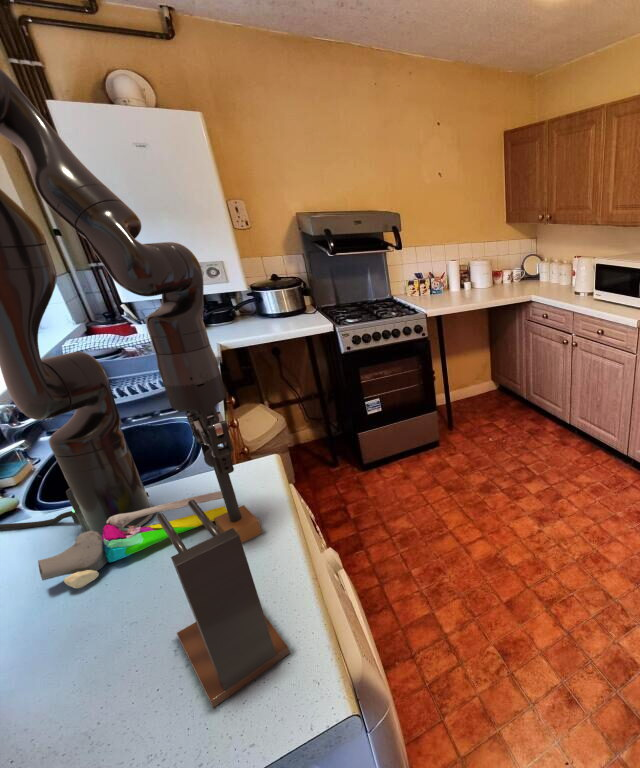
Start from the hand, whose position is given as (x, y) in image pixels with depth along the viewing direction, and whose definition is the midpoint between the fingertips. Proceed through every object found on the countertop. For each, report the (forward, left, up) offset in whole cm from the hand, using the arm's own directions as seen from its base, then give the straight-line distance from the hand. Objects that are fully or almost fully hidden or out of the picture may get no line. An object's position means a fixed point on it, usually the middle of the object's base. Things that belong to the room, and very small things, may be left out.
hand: (220, 466), depth 75 cm
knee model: (-14, -3, -14) cm, 20 cm away
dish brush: (0, 0, -14) cm, 14 cm away
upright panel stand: (+10, -23, -14) cm, 29 cm away
